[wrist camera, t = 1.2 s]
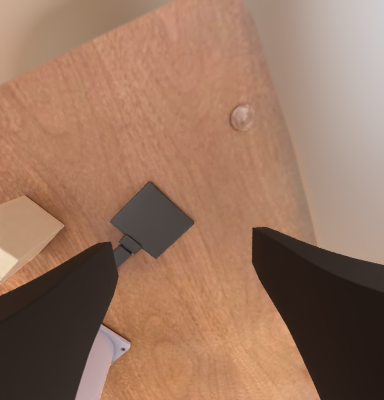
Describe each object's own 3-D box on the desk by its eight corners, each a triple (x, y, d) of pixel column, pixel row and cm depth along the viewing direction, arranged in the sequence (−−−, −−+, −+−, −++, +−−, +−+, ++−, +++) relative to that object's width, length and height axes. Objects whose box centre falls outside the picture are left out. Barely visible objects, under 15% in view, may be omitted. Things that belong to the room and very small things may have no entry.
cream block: (38, 253, 20) (-17, 298, 15) (-3, 226, 19) (-79, 263, 14) (65, 225, 20) (18, 260, 14) (24, 194, 19) (-45, 219, 13)
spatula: (113, 296, 22) (110, 303, 22) (67, 265, 21) (62, 270, 20) (193, 222, 20) (194, 225, 20) (149, 180, 19) (148, 182, 18)
